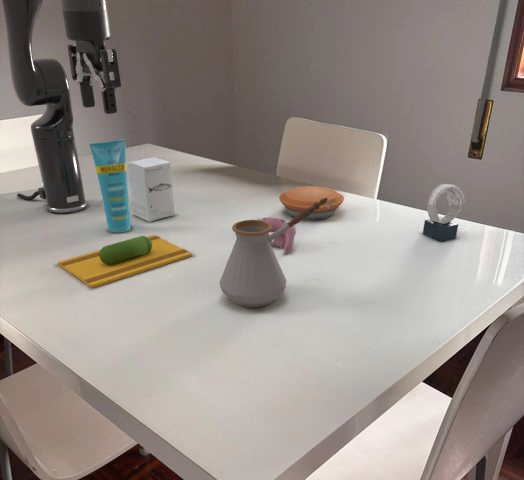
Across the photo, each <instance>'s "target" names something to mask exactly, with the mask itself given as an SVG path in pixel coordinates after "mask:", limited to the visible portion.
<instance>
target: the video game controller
mask: <svg viewBox="0 0 524 480" xmlns="http://www.w3.org/2000/svg"><path fill="white" fill-rule="evenodd" d="M256 220H261V221H266V222H268V223H270V224H271V226H272V228H271V230H270V231H269V233H274V232H276V231H277V230H279V229H280V228H282V227H283V226H285V225H286V224H287V223H288V222H289V221H288V220H285V219H283V218H279V217H263V218H262V217H261V218H257V219H256ZM269 233H268V236H270V235H271V234H269ZM296 234H297V229H296V226H295V225H294V226H292V227H290V228H288V229H287V230H286V231H284V232H283V233H281V234H280V235H279V236H277V237H276V238H275V239H273V244H274V245H275V246H276V247H279V248H282V247H284V252H285V254H289V253H290V252H291V250H292V248H293V246H294V242H295V237H296Z"/></svg>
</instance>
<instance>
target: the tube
mask: <svg viewBox="0 0 524 480" xmlns="http://www.w3.org/2000/svg"><path fill="white" fill-rule="evenodd" d="M89 149H90V152H91V155H92V158H93V159H92V160H93V163H94V166H95V171H96V175H97V179H98V185H99V189H100V194H101V198H102V203H103V208H104V213H105V217H106V225H107V229H108V231H109V232H111V233H117V234H118V233H125V232H128V231H130V230H131V228H132V225H131V214H130V205H129V203H130V201H129V193H128V192H129V191H128V176H127V160H126V159H127V158H126V138H122V139H116V140H110V141H109V140H108V141H102V142H101V141H100V142H90V143H89Z"/></svg>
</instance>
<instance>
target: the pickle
mask: <svg viewBox="0 0 524 480" xmlns="http://www.w3.org/2000/svg"><path fill="white" fill-rule="evenodd" d="M151 249H152V242H151V240H150V239H149V238H148V237H147V236H145V235H140V236H135V237H132V238H129V239H125V240H123V241H120V242H115V243H112V244H108V245H104V246H103V247H102V248H101V249H99V250H100V253H99V257H100V259H101V261H102V262H103V263H105V264H109V265H110V264H114V263H118V262H121V261H124V260H127V259H131V258H134V257H137V256H141V255H144V254H147V253H149V252H150V251H151Z"/></svg>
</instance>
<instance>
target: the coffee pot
mask: <svg viewBox="0 0 524 480" xmlns="http://www.w3.org/2000/svg"><path fill="white" fill-rule="evenodd" d="M326 201H328V202H329V203H330V201H329V200H328V199H327V198H324V199H322V200H320V202H318V203H314V205H313V206H312V207H310V208H308V209H306V210H304V211H302V212H301V213H300V214H299V215H297V216H296V217H293V218H292V219H291V220H290V221H288V223H287V224H286V225H285V226H283V227H282V228H280V229H279V230H277V231H276V232H272V233H271V234H269V235H270V236H268V233H270V232H269V231H270V230H271V228H272V226H271V224H270V223H268V222H266V221H261V220H257V219H246V220H240V221H237V222H235V223H233V224H232V226H231V229H232V231H233V232H234V234H235V237H236V239H235V242H234V245H233V247H232V250H231V252H230V254H229V257H228V260H227V261H226V264H225V267H224V270H223V272H222V275H221V278H220V279H219V287H220V289H221V292H222V293H223V294H224V295H225V296H226V297H227V298H228V299H229V300H231V301H232V302H233V304H236V305H238V306H240V307H245V308H261V307H265V306H268V305H271V304H272V303H273V302H274V301H275V300H276V299H278V298H280V296H281V295H282V294H283V293H284V292H285V289H286V287H287V282H288V281H287V278H286V277H285V274H284V272H283V269H282V267H281V264H280V263H279V260H278V257H277V256H276V254H275V252H274V249H273V247H272V244H271V242H272V241H274V239H275V238H276V237H277V236H279V235H280V234H281V233H283V232H284V231H286V230H287V229H288V228H290V227H292V226H294V227H295V225H297V224H299V223H300V222H302V221H304V220H306V219H305V218H306V217H308V216H309V215H310V214H311V213H312V212H313V211H314V210H315V209H319V207H320V206H321V205H323V204H324V205H325V206H326V207H327V208H329V207H328V206H327V205H326V204H325V203H326ZM330 205H331V203H330ZM331 208H332V205H331ZM329 209H330V208H329Z"/></svg>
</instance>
